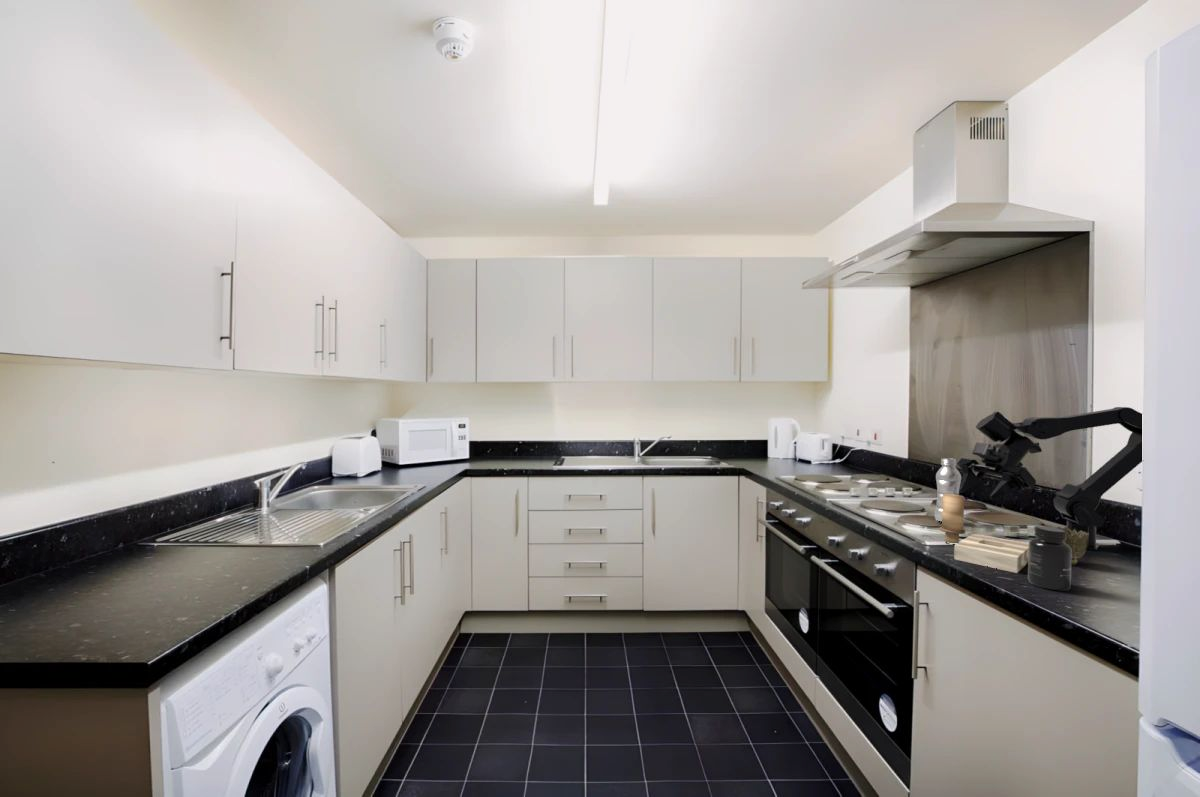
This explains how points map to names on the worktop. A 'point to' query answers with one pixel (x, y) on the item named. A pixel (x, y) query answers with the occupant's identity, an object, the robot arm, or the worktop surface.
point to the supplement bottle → (1050, 559)
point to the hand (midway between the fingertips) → (975, 494)
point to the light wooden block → (992, 552)
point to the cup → (1076, 543)
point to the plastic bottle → (946, 483)
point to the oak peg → (952, 517)
